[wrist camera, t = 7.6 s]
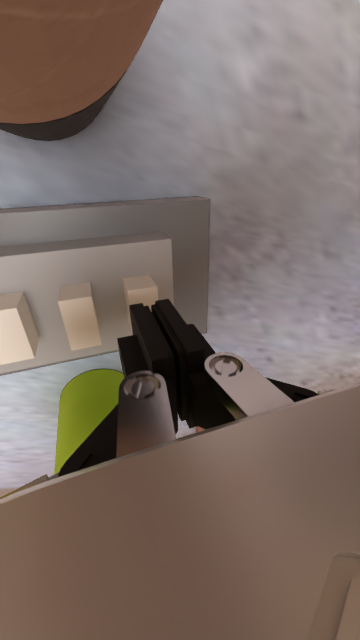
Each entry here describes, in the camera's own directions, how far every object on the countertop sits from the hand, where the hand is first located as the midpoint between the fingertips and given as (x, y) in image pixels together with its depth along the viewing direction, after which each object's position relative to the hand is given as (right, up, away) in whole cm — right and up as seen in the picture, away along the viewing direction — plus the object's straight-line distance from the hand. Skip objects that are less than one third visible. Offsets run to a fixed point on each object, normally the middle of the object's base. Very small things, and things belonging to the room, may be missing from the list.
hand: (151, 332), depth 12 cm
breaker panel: (-5, +3, +6) cm, 8 cm away
